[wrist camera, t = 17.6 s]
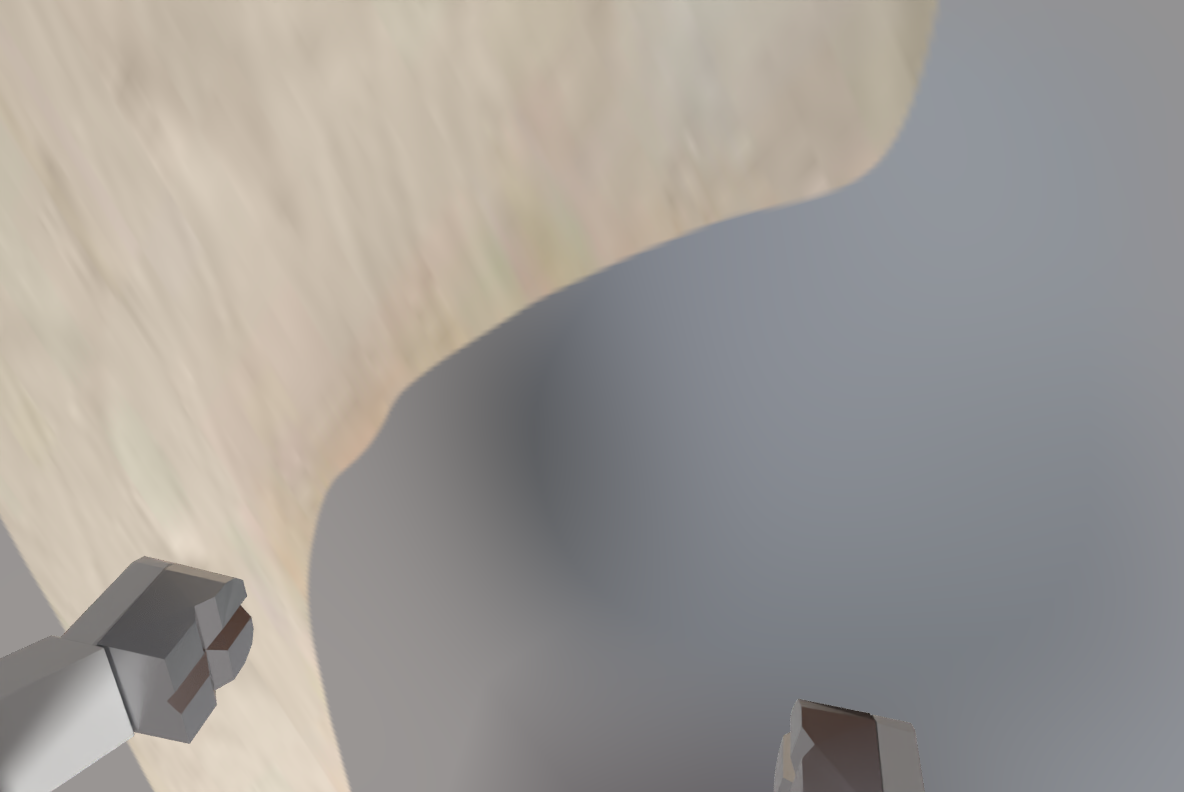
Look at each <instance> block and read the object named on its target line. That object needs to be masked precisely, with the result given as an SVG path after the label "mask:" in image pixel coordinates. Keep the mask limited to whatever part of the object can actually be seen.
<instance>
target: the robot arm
mask: <svg viewBox="0 0 1184 792" xmlns="http://www.w3.org/2000/svg"><path fill="white" fill-rule="evenodd" d="M246 597H247V594H246V590H245V586H244V582H243V580H241V579H237V578H234V577H230V576H226V575H222V574H217V573H213V572H209V571H205V570H201V569H197V568H193V567H189V566H185V565H181V564H177V563H172V562H168V561H164V560H159V559H155V558H151V557H146V556H144V557H142V558H140V559H138V560H136V561H134V562H132V563H131V564H130V565H129V566H128V567H127V568H126V569H125V570H124V571H123V573H122V574H121V575H120V576H119V577H118V578H117V579H116V580H115V581H114V582H113V583H112V584H111V585H110V586H109V587H108V588H107V589H106V590H105V591H104V592H103V593H102V594H101V595H100V597H99V598H98V599H97V600H96V601H95V602H94V603H93V604H92V605H91V606H90V607H89V608H88V609H87V610H86V611H85V612H84V613H83V614H82V615H81V616H80V617H79V618H78V620H77V621H76V622H75V623H74V624H73V625H72V626H71V627H70V628H69V629H68V630H67V631H66V632H65V633H64V634H63V635H62V636H61V637H57V636H52V635H51V636H49V637H47V638H44V639H42V640H40V641H38V642H36V643H33V644H31V645H29V646H27V647H25V648H22V649H20V650H18V651H16V652H13V653H11V654H9V655H7V656H5V657H3V658H0V792H51V791H53V790H54V789H56V788H57V787H58V786H60V785H61V784H63V783H64V782H66V781H67V780H69V779H70V778H72V777H73V776H75V775H76V774H78V773H79V772H81V771H82V770H84V769H85V768H87V767H88V766H89V765H91V764H93V763H94V762H96V761H97V760H99V759H100V758H102V757H103V756H104V755H106V754H108V753H109V752H111V751H112V750H114V749H115V748H116V747H118V746H119V745H121V744H123V743H124V742H125V741H127V740H128V739H130V738H131V737H133V736H134V732H137V733H141V734H146V735H151V736H156V737H160V738H165V739H170V740H174V741H179V742H184V743H188V744H190V743H191V741H192V740H193V738H194V737H195V735H196V734H197V733H198V731H199V730H200V728H201V727H202V725H203V724H204V722H205V721H206V720H207V718H208V717H209V715H210V714H211V712H212V711H213V709H214V708H215V707H216V705H217V702H216V689H218V688H220V687H222V686H223V685H225V684H227V683H229V682H231V681H232V680H234V679H235V677H236V676H237V674H238V673H239V671H240V670H241V668H242V667H243V665H244V664H245V661H246V659H247V656H248V653H249V651H250V648H251V645H252V640H253V624H252V618H251V616H250V615H249V614H248V613H247V612H246V611H245V610H244V608H243V607H242V606H241V603H242V602H243V601H244V599H245V598H246ZM774 792H925V790H924V783H923V777H922V770H921V764H920V758H919V751H918V745H917V738H916V733H915V729H914V728H913V726H912V724H911V723H908V722H904V721H900V720H895V719H890V718H885V717H881V716H876V715H870V713H866V712H861V711H855V710H851V709H846V708H842V707H837V706H831V705H827V704H822V703H817V702H812V701H807V700H802V699H798V700H797V701H796V702H795V704H794V707H793V709H792V712H791V715H790V732H789V733H788V734H786V735H784V736H783V739H782V742H781V746H780V749H779V754H778V759H777V764H776V769H775V781H774Z"/></svg>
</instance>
